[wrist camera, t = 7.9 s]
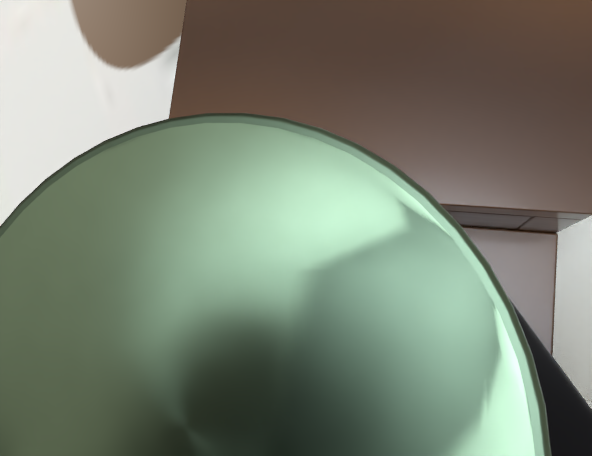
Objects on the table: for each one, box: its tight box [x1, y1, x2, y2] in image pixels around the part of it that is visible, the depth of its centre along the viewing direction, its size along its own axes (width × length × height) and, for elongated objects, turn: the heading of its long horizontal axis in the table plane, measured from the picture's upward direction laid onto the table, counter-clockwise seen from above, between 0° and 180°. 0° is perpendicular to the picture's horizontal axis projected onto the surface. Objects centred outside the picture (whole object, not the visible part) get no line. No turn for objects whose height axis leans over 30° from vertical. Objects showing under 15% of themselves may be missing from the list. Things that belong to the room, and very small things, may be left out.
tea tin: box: [0, 113, 552, 456], centre depth 9 cm, size 6×6×9 cm
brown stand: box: [169, 0, 592, 355], centre depth 16 cm, size 16×12×5 cm
